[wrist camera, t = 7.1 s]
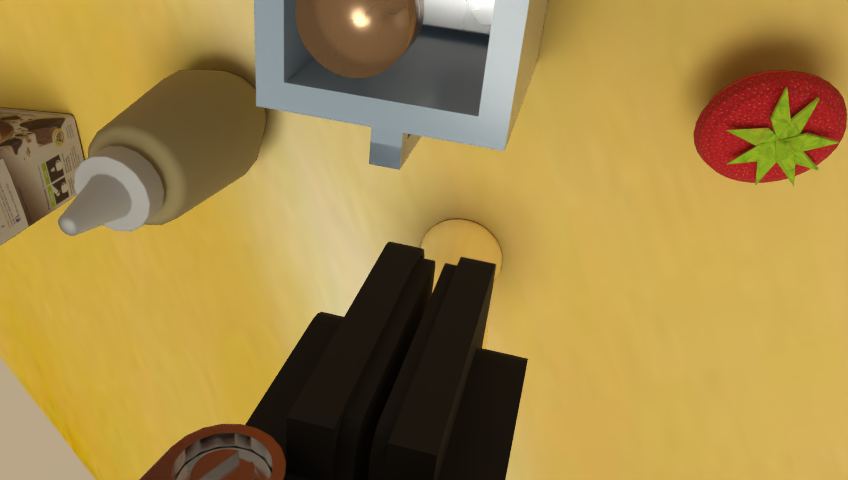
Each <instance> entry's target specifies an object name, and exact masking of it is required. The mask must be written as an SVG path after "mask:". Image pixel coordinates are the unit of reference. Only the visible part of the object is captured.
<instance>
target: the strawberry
mask: <svg viewBox="0 0 848 480" xmlns="http://www.w3.org/2000/svg"><path fill="white" fill-rule="evenodd" d="M846 120H847V113H846V106H845V102H844V99H843V97H842V96H841V94H840V93H839V91H838V90H837V89H836V88H835V87H834V86H833V85H832V84H830V83H829V82H827V81H826V80H824V79H822V78H820V77H818V76H814V75H811V74H808V73H803V72H794V71H783V70H777V71H765V72H760V73H755V74H752V75H749V76H746V77H743V78H741V79H739V80H737V81H734V82H732V83H731V84H729V85H728V86H726V87H725V88H723V89H722V90H721V91H720V92H718V93H717V94H716V95H715V96H714V97H713V98H712V99H711V101H710V102H709V103H708V105H707V106H706V107H705V108H704V110H703V111H702V112H701V114H700V116H699V118H698V120H697V122H696V126H695V130H694V144H695V146H696V149H697V152H698V154H699V155H700V156H701V158H702V159H703V160H704V161H705V162H706V163H707V164H708V165H709V166H710V167H711V168H712V169H714V170H715V171H716V172H717V173H719V174H721V175H723V176H725V177H727V178H731V179H734V180H737V181H743V182H750V183H755V185H756V184H757V183H765V182H772V181H779V180H783V179H787V178H789V180H790V181H791V183H792V184H793V185H794V177H795V176H796V175H798V174H801V173H803V172H806V171H807V170H809V169H815V170H818V167H817V166H816V165H818V164H819V163H821V162H822V161H823V160H824V159H826V158H827V157H828V156H829V155H830V154H831V153H832V152H833V151H834V150H835V149H836V148H837V146H838V144H839V143H840V141H841V140H842V138H843V135H844V132H845V129H846Z"/></svg>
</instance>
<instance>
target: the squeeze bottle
mask: <svg viewBox="0 0 848 480" xmlns="http://www.w3.org/2000/svg"><path fill="white" fill-rule="evenodd" d="M266 119H267V118H266V113H265V108H264V107H258V106H256V90H255V88H254V87H253V86H251V85H250V84H249V83H248V82H247V81H246V80H244V79H243V78H242V77H240V76H238V75H235V74H232V73H230V72H227V71H216V70H179V71H177V72H176V73H174V74H172V75H170V76H168V77H167V78H165V79H163V80H162V81H160V82H159V83H158V84H157V85H155V86H154V87H153V88H152V89H150V90H149V91H148V92H147V93H145V94H144V95H143V96H142V97H140V98H139V99H138V100H137V101H136V102H134V103H133V104H132V105H131V106H129V107H128V108H127V109H126V110H124V111H123V112H122V113H121V114H119V115H118V116H117V117H116V118H114V119H113V120H112V121H111V122H109V123H108V124H107V125H106V126H104V127H103V128H102V129H101V130H99V131H98V132H97V134H96V135H95V137H94V139H93V140H92V142H91V144H90V146H89V150H88V158H87V159H85V160H83V161H82V162H81V163H80V165H79V166H78V168H77V170H76V172H75V180H74V188H75V191H76V193H77V197H76V198H75V199H74V201H73V202H72V203H71V204H70V205H69V207H68V208H67V209H66V210H65V212H64V213H63V214H62V215H61V217H60V218H59V221H58V224H59V226H60V228H61V230H62V231H63V232H64V233H66V234H68V235H70V236H75V235H77V234H80V233H82V232H85V231H88V230H90V229H93V228H95V227H98V226H100V225H103V226H106V227H108V228H111V229H113V230H116V231H133V230H135V229H137V228H139V227H142V226H143V225H144V224H147V225H163V224H165V223H167V222H169V221H172V220H174V219H176V218H178V217H180V216H181V215H183V214H184V213H186V212H187V211H189V210H190V209H192V208H193V207H195V206H197V205H198V204H200V203H201V202H203V201H204V200H206V199H207V198H209V197H211V196H212V195H214V194H215V193H217V192H218V191H220V190H221V189H223V188H225V187H226V186H228V185H229V184H231V183H232V182H234V181H235V180H237V179H239V178H240V177H242V176H243V175H245V174H246V173H247V171H248V170H249V169H250V167H251V166H252V165H253V164H254V162H255V161H256V160H257V157H258V153H259V149H260V145H261V141H262V138H263V134H264V129H265V124H266Z"/></svg>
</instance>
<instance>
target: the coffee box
mask: <svg viewBox="0 0 848 480" xmlns="http://www.w3.org/2000/svg"><path fill="white" fill-rule="evenodd" d="M83 160H84V158H83V153H82V149H81V145H80V140H79V136H78V132H77V127H76V123H75V119H74V117H73V116H72V115H69V114H61V113H49V112H39V111H28V110H18V109H8V108H0V245H2V244H3V243H5V242H6V241H8V240H9V239H11V238H12V237H14V236H16V235H17V234H19V233H20V232H22V231H23V230H25V229H26V228H27V227H29V226H31V225H32V224H34V223H35V222H37V221H38V220H40V219H41V218H43V217H44V216H46V215H47V214H49V213H50V212H52V211H53V210H55V209H57V208H58V207H60V206H61V205H63V204H64V203H66V202H67V201H69V200H70V199H72V198H73V197H75V196H76V195H77V193H76V191H75V188H74V180H75V172H76V170H77V168H78V166H79V165H80V163H81V162H82V161H83Z"/></svg>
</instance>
